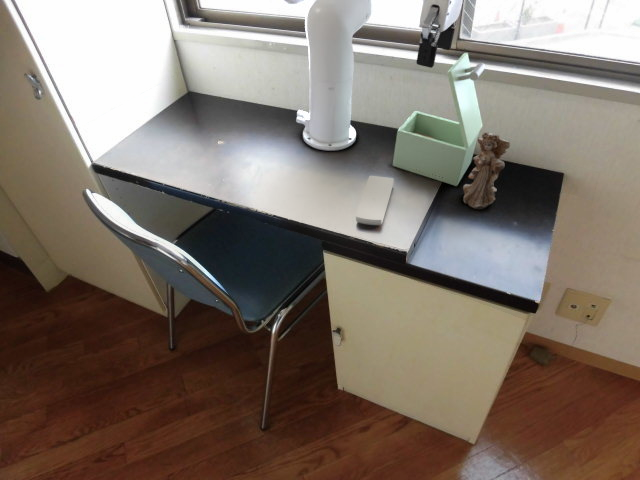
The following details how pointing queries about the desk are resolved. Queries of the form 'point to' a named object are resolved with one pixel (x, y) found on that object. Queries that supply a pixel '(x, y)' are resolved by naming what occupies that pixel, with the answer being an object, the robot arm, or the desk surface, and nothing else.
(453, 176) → the chest
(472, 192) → the figurine
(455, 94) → the lid
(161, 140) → the desk surface
